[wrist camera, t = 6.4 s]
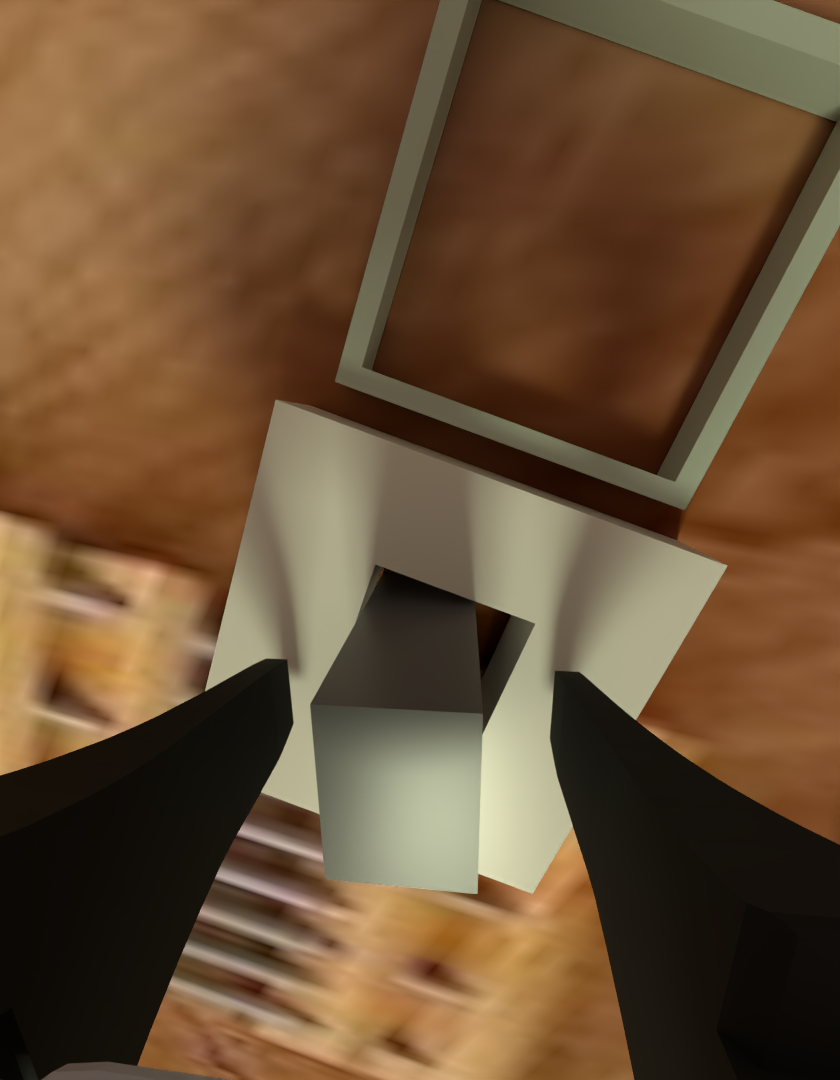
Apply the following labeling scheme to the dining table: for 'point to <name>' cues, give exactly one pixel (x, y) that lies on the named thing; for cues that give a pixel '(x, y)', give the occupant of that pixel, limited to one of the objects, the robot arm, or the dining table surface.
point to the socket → (466, 570)
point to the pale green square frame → (823, 205)
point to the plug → (402, 742)
